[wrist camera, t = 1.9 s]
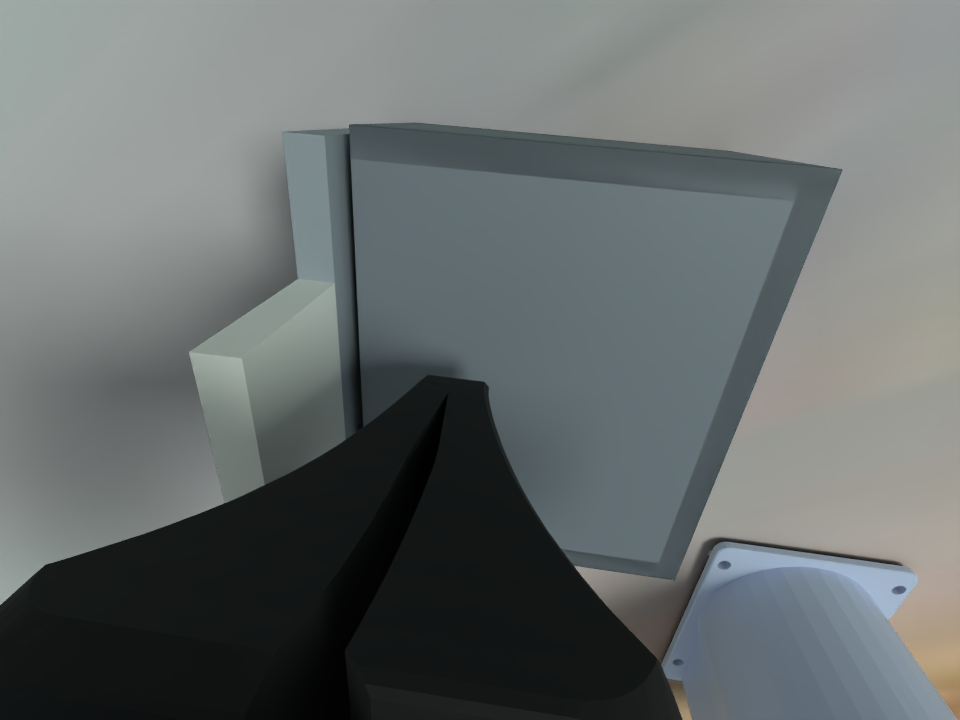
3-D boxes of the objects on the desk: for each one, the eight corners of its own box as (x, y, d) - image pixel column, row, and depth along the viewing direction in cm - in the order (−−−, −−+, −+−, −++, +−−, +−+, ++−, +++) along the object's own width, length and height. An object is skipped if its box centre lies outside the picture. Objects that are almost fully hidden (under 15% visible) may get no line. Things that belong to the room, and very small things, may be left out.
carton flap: (401, 430, 18) (297, 670, 10) (381, 427, 18) (263, 664, 10) (401, 129, 13) (202, 145, 5) (374, 127, 13) (137, 138, 5)
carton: (638, 457, 18) (674, 580, 13) (411, 428, 19) (368, 535, 14) (729, 151, 13) (842, 169, 8) (415, 122, 14) (349, 124, 9)
